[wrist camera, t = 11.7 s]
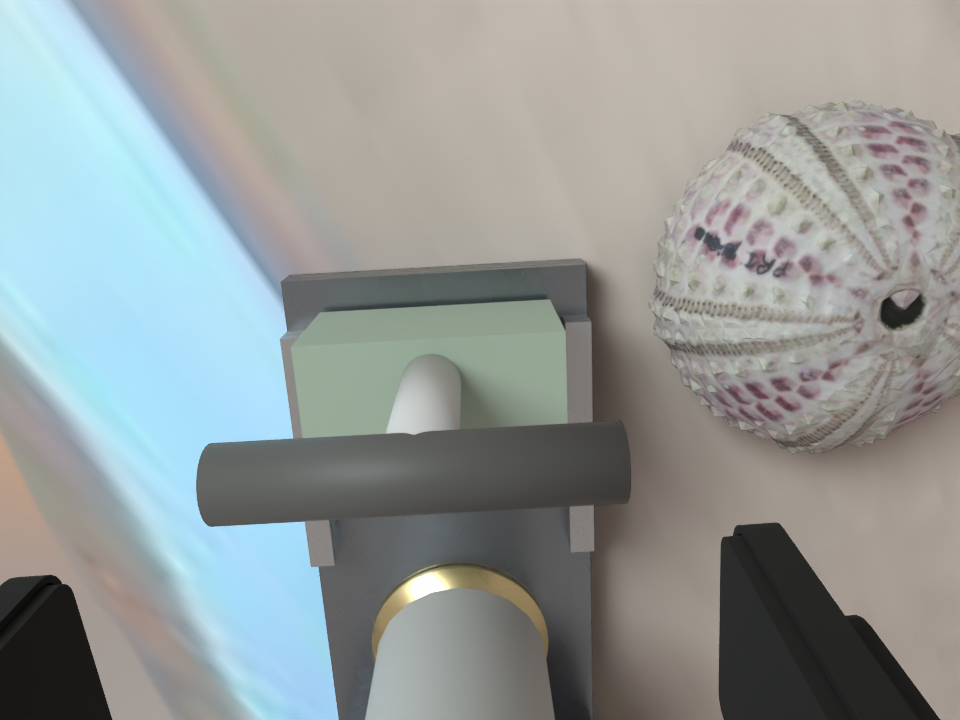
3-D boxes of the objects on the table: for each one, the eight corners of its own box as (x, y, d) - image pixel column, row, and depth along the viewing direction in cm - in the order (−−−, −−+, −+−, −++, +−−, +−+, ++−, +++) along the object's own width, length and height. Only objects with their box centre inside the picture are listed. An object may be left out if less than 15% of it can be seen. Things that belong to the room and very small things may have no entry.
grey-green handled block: (562, 298, 29) (631, 418, 17) (566, 440, 31) (630, 645, 19) (307, 312, 29) (187, 443, 17) (324, 454, 31) (227, 667, 19)
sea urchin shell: (715, 470, 34) (787, 568, 26) (580, 203, 30) (618, 226, 23) (999, 332, 32) (1165, 393, 24) (891, 32, 29) (1045, -6, 21)
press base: (580, 258, 31) (626, 309, 22) (589, 765, 38) (625, 961, 29) (289, 275, 31) (214, 333, 22) (354, 778, 38) (318, 978, 29)
